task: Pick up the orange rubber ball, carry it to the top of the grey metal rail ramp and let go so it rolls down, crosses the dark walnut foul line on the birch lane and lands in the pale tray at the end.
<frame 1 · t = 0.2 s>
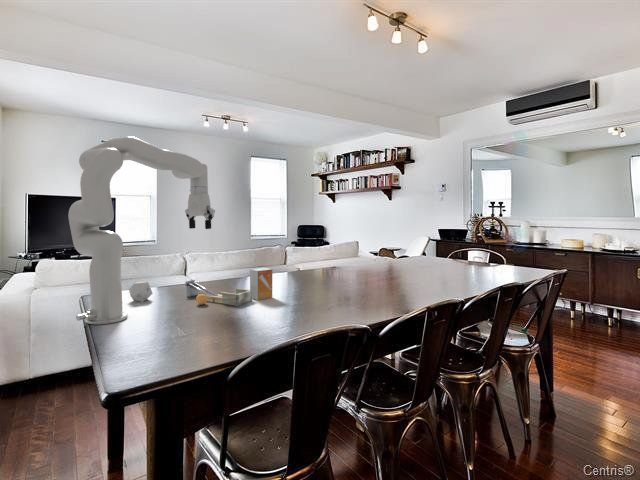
hand: (200, 228, 164), 31 cm above the table, fingers open, 9 cm apart
ball: (201, 299, 148), point 2 cm above the table
small box: (261, 298, 161), on the table
ramp: (203, 297, 161), on the table
lane: (221, 299, 157), on the table
die: (141, 301, 155), on the table
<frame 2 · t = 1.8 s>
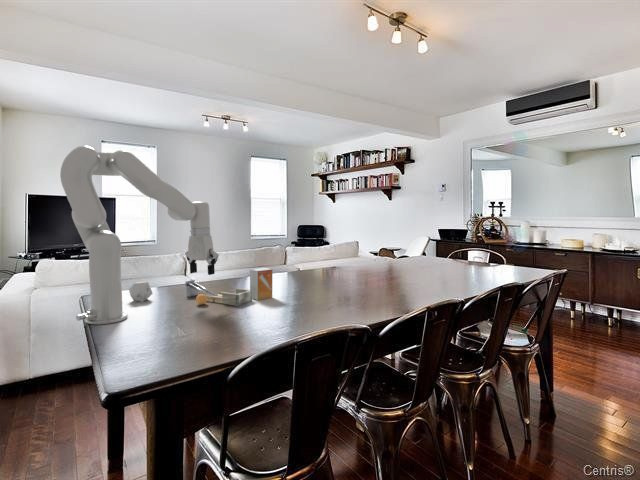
hand: (202, 273, 148), 13 cm above the table, fingers open, 9 cm apart
nothing on the table moved.
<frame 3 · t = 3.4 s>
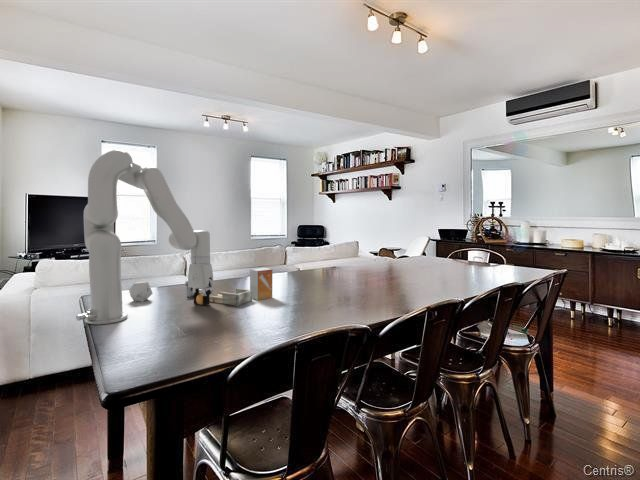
hand: (201, 303, 148), 0 cm above the table, fingers closed on ball, 4 cm apart
ball: (201, 299, 148), point 2 cm above the table, touching gripper
everything else where it was.
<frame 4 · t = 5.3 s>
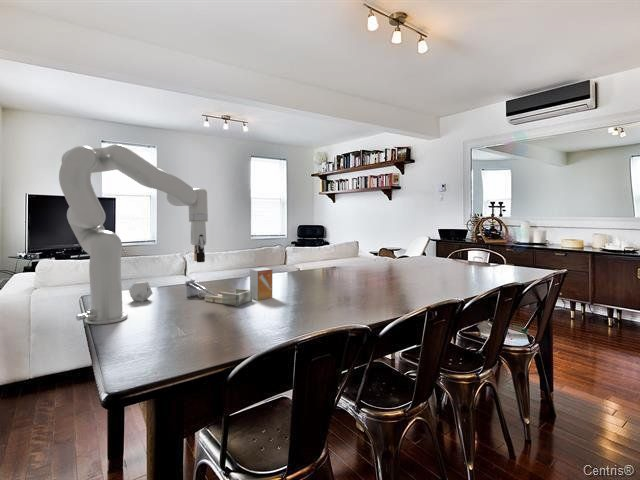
hand: (199, 260, 152), 18 cm above the table, fingers closed on ball, 4 cm apart
ball: (199, 256, 152), point 19 cm above the table, touching gripper
everything else where it was.
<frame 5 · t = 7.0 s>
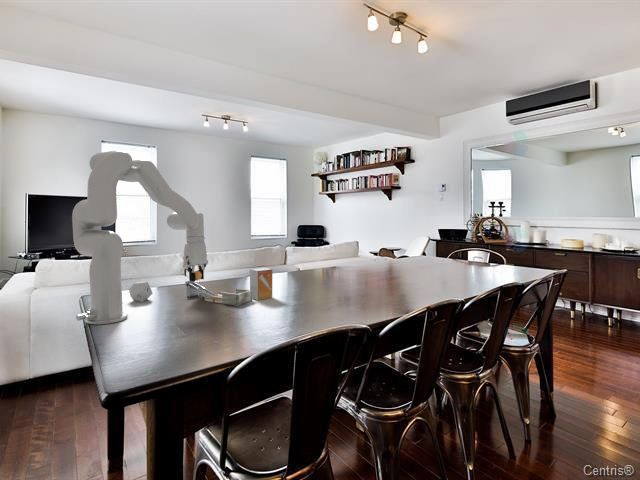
hand: (196, 279, 163), 8 cm above the table, fingers closed on ball, 4 cm apart
ball: (196, 275, 163), point 9 cm above the table, touching gripper
everything else where it was.
when the fingers open (6 cm above the table, at t = 7.5 s): ball drops 6 cm and tips over, resting on lane.
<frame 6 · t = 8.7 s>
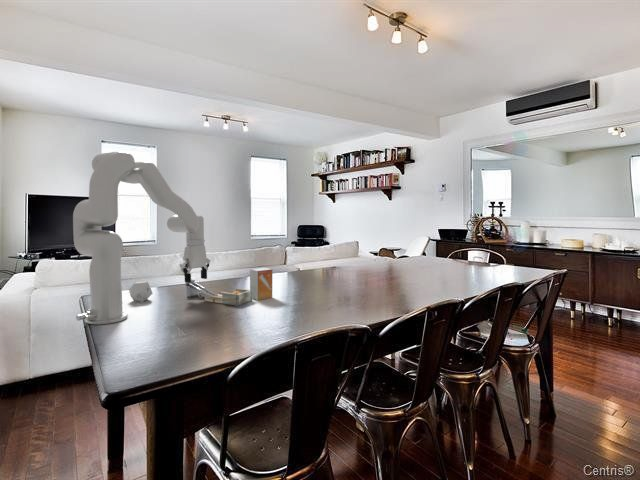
hand: (196, 280, 163), 7 cm above the table, fingers open, 9 cm apart
ball: (236, 296, 152), point 3 cm above the table, tilted 114°, touching lane
everything else where it was.
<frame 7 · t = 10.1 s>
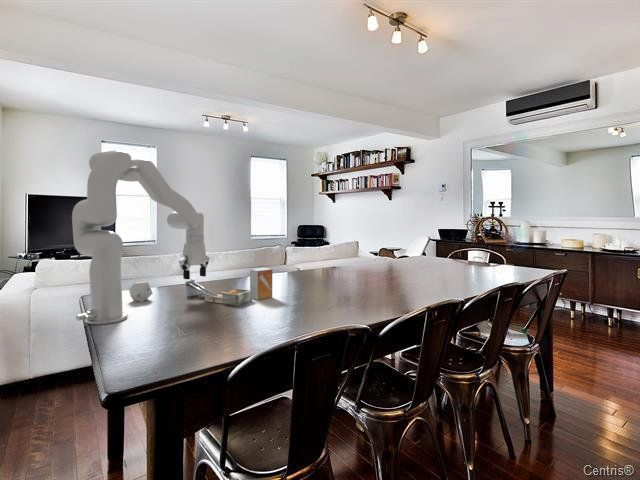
hand: (194, 277, 162), 9 cm above the table, fingers open, 9 cm apart
ball: (233, 295, 154), point 3 cm above the table, tilted 121°, touching lane
everything else where it was.
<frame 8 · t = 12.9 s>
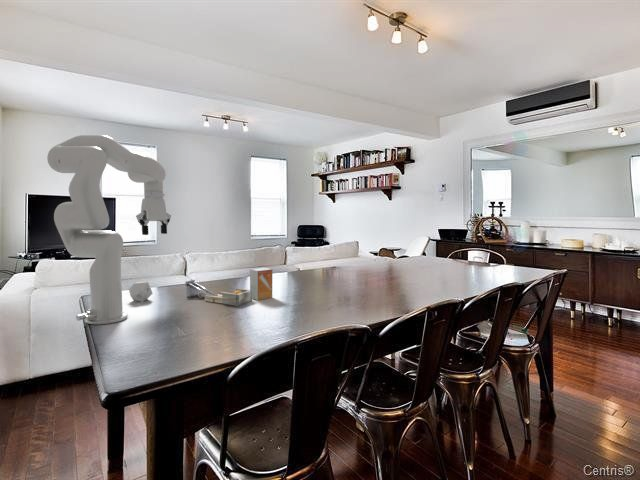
hand: (154, 234, 160), 28 cm above the table, fingers open, 9 cm apart
ball: (238, 295, 153), point 3 cm above the table, tilted 93°, touching lane
everything else where it was.
at the end: ball inside the target area on the lane (0.8 cm from its centre), point 2.6 cm above the lane's base; the gripper is holding nothing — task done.
